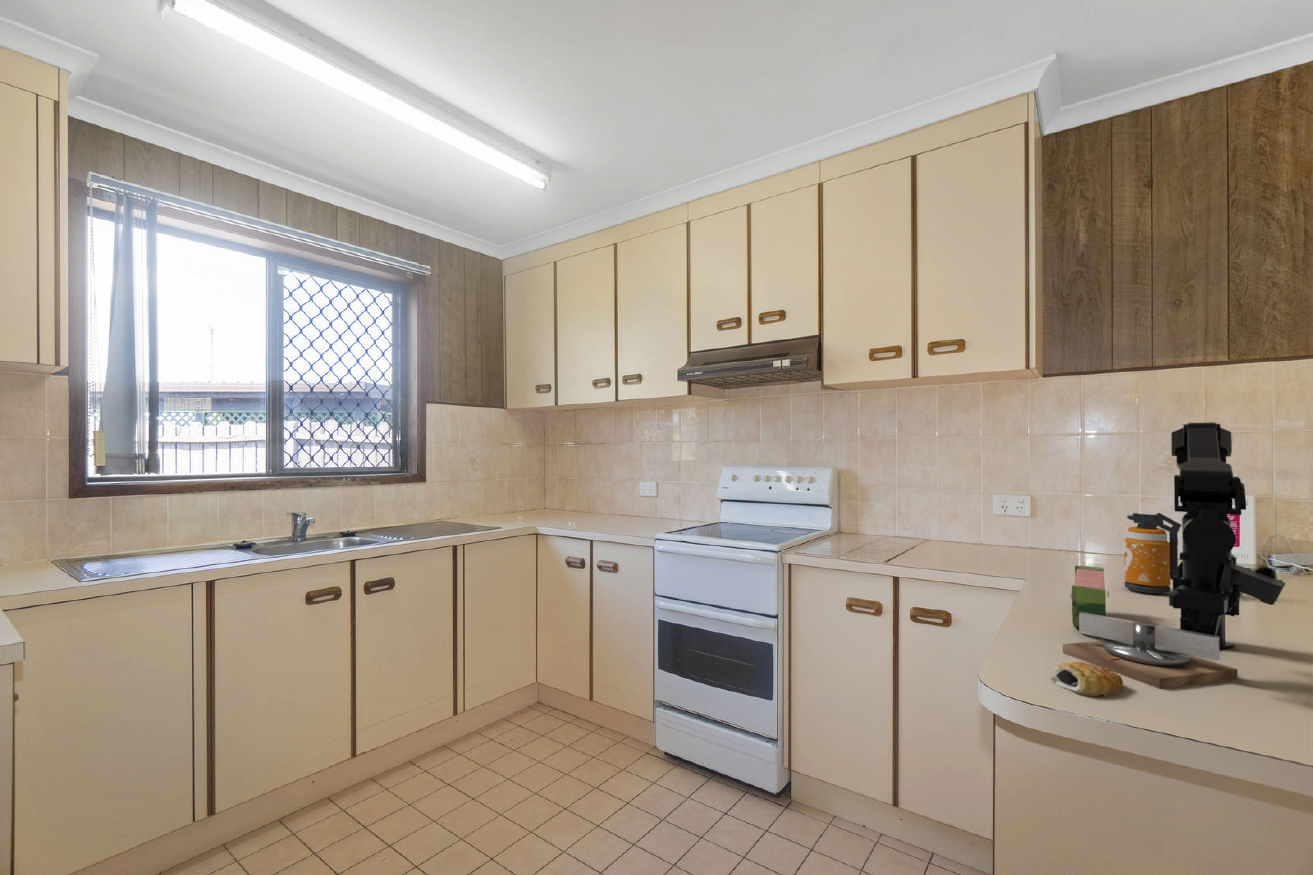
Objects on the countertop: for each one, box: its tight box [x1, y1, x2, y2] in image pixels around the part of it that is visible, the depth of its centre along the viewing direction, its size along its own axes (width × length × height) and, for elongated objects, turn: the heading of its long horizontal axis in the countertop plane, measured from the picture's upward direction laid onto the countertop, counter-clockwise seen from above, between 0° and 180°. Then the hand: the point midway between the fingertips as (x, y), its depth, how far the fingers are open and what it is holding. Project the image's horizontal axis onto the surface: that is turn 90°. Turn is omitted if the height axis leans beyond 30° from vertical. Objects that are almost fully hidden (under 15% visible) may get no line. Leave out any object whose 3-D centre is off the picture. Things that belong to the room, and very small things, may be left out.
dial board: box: [1062, 639, 1239, 689], centre depth 99 cm, size 16×16×2 cm
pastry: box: [1049, 661, 1124, 697], centre depth 90 cm, size 9×7×4 cm
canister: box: [1123, 512, 1182, 596], centre depth 150 cm, size 9×11×20 cm
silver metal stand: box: [1078, 612, 1221, 666], centre depth 99 cm, size 11×16×5 cm
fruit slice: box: [1070, 565, 1110, 629], centre depth 122 cm, size 26×6×10 cm, turn 144°
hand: (1208, 646), depth 95 cm, fingers closed
